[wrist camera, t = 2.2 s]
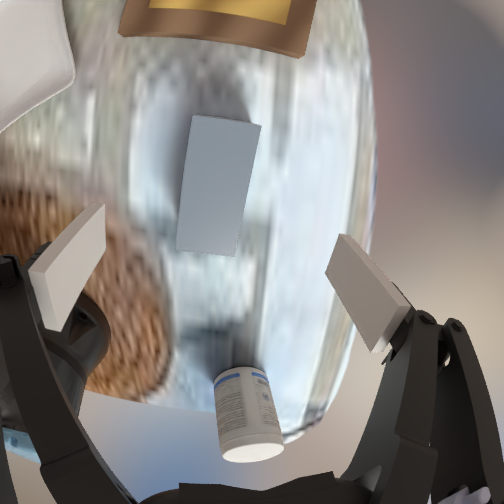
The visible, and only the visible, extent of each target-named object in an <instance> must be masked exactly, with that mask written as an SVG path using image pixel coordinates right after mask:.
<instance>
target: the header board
mask: <svg viewBox="0 0 504 504" xmlns="http://www.w3.org/2000/svg"><path fill="white" fill-rule="evenodd" d="M316 2H317V0H127V3H126V6H125V9H124V12H123V15H122V19H121V22H120V26H119V29H118V33H119V34H120V35H122V36H123V37H134V36H153V37H177V38H191V39H201V40H209V41H217V42H224V43H230V44H236V45H242V46H247V47H252V48H257V49H262V50H266V51H271V52H275V53H279V54H283V55H287V56H290V57H294V58H297V59H299V58H301V57H303V56H304V55H305V51H306V47H307V42H308V38H309V33H310V29H311V24H312V20H313V15H314V11H315V6H316Z"/></svg>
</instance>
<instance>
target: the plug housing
mask: <svg viewBox="0 0 504 504" xmlns="http://www.w3.org/2000/svg"><path fill="white" fill-rule="evenodd" d="M260 131H261V126H260V125H257V124H255V123H252V122H246V121H241V120H235V119H229V118H222V117H216V116H208V115H201V114H195V115H193V116H192V122H191V128H190V134H189V140H188V146H187V153H186V159H185V166H184V174H183V181H182V189H181V198H180V207H179V216H178V226H177V237H176V250H178V251H187V252H197V253H206V254H215V255H224V256H233V257H235V252H236V247H237V242H238V237H239V232H240V227H241V222H242V217H243V212H244V207H245V202H246V197H247V192H248V187H249V183H250V178H251V173H252V168H253V164H254V159H255V154H256V149H257V145H258V140H259V135H260Z"/></svg>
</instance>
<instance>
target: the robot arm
mask: <svg viewBox="0 0 504 504" xmlns="http://www.w3.org/2000/svg"><path fill="white" fill-rule="evenodd" d="M105 250H106V238H105V203H96V202H92V203H91V204H90V205H89V206H88V207H87V208H86V209H84V210H83V211H82V212H81V213H80V214H79V215H78V216H77V217H76V218H75V219H74V220H73V221H72V222H71V223H70V224H69V225H68V226H67V227H66V228H65V229H64V230H63V231H62V233H61V234H60V235H59V236H58V237H57V238H56V239H55V240H54V241H53V242H47V243H45V244H44V245H42V246H40V247H39V248H38V249H37V251H36V252H35V254H33V255H32V256H31V257H30V259H28V261H27V262H26V263H25V264H24V265H23V266H22V268H20V263H19V259H18V257H17V256H16V255H14V254H4V255H1V256H0V504H18V501H17V497H16V493H15V490H14V486H13V482H12V478H11V474H10V470H9V465H8V460H7V455H6V449H7V450H9V451H11V452H13V453H15V454H17V455H20V456H22V457H24V458H27V459H29V460H32V461H34V462H37V463H40V464H41V467H40V472H41V475H42V478H43V480H44V482H45V484H46V485H47V487H48V489H49V491H50V492H51V494H52V496H53V498H54V499H55V501H56V502H57V504H427V502H428V499H429V495H430V494H431V504H504V462H503V456H502V449H501V443H500V438H499V432H498V428H497V423H496V419H495V414H494V410H493V407H492V403H491V399H490V395H489V392H488V389H487V385H486V382H485V379H484V376H483V373H482V370H481V367H480V364H479V361H478V359H477V356H476V353H475V350H474V348H473V345H472V343H471V340H470V338H469V335H468V333H467V331H466V329H465V327H464V325H463V324H462V323H461V322H460V321H459V320H456V319H454V318H449V319H448V320H447V321H446V323H445V324H444V326H443V325H439V324H437V322H436V320H435V319H434V317H433V316H432V315H430V314H429V313H427V312H425V311H423V310H417V311H416V310H415V308H414V307H413V306H412V305H411V303H410V302H409V301H408V300H407V299H406V297H405V296H404V295H403V293H402V292H401V291H400V290H399V289H398V287H397V286H396V285H395V284H394V283H393V282H391V281H390V280H389V278H388V277H387V276H386V275H385V274H384V273H383V271H382V270H381V269H380V268H379V267H378V266H377V265H376V263H375V262H374V261H373V260H372V259H371V258H370V257H369V255H368V254H367V253H366V252H365V251H364V250H363V249H362V248H361V247H360V245H359V244H358V243H357V242H356V241H355V240H354V239H353V238H352V237H351V236H350V235H345V234H339V236H338V239H337V242H336V245H335V247H334V250H333V253H332V256H331V258H330V261H329V264H328V267H327V269H326V272H325V274H326V276H327V278H328V279H329V281H330V283H331V284H332V286H333V288H334V289H335V291H336V293H337V294H338V296H339V298H340V299H341V301H342V303H343V305H344V306H345V308H346V310H347V312H348V313H349V315H350V317H351V319H352V320H353V322H354V324H355V326H356V327H357V329H358V331H359V333H360V334H361V336H362V338H363V340H364V341H365V343H366V345H367V347H368V349H369V351H370V353H373V352H383V351H384V349H385V348H386V346H387V345H388V343H389V342H390V344H391V345H392V347H393V348H392V349H391V350H390V352H389V353H388V355H387V356H386V358H385V359H384V360H383V362H382V365H383V364H384V363H385V362H386V365H385V369H384V373H383V377H382V380H381V383H380V387H379V390H378V393H377V396H376V399H375V402H374V405H373V408H372V411H371V414H370V417H369V419H368V422H367V425H366V427H365V430H364V433H363V435H362V438H361V441H360V443H359V445H358V448H357V450H356V452H355V455H354V457H353V459H352V462H351V464H350V465H349V467H348V469H347V470H346V471H345V472H344V473H343V474H342V476H341V477H340V478H335V477H334V474H333V471H330V472H326V473H321V474H316V475H311V476H306V477H300V478H297V479H295V480H292V481H290V482H287V483H284V484H282V485H279V486H276V487H274V488H271V489H268V490H265V491H257V490H250V489H243V488H237V487H232V486H226V485H221V484H189V483H179V489H173V490H168V491H164V492H161V493H158V494H155V495H153V496H151V497H149V498H147V499H145V500H143V501H142V502H140V503H138V502H137V501H136V500H135V499H134V498H133V497H132V495H131V494H130V493H129V492H128V490H127V489H126V488H125V487H124V486H123V484H122V483H121V482H120V481H119V480H118V478H117V477H116V476H115V475H114V473H113V472H112V471H111V469H110V468H109V466H108V465H107V464H106V462H105V461H104V459H103V458H102V457H101V455H100V453H99V452H98V450H97V449H96V447H95V446H94V444H93V443H92V441H91V439H90V438H89V436H88V434H87V433H86V431H85V429H84V428H83V426H82V424H81V422H80V421H79V419H78V415H79V411H80V405H81V402H82V397H83V393H84V389H85V385H86V382H87V379H88V377H89V376H90V374H91V373H92V372H93V371H94V369H95V368H96V367H97V366H98V364H99V363H100V362H101V361H102V359H103V358H104V357H105V355H106V353H107V351H108V348H109V344H110V341H111V330H110V327H109V324H108V322H107V320H106V318H105V316H104V315H103V313H102V312H101V311H100V309H99V308H98V307H97V306H96V305H95V304H94V303H93V302H92V301H91V300H90V299H89V298H87V297H86V296H85V295H83V294H82V293H81V291H82V289H83V287H84V286H85V284H86V282H87V280H88V279H89V277H90V275H91V273H92V272H93V270H94V268H95V267H96V265H97V263H98V262H99V260H100V258H101V257H102V255H103V253H104V252H105ZM449 356H450V361H449V364H448V365H447V366H445V362H446V360H447V359H448V358H449ZM429 442H430V446H429Z"/></svg>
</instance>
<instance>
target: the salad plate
mask: <svg viewBox="0 0 504 504" xmlns="http://www.w3.org/2000/svg"><path fill="white" fill-rule="evenodd" d="M75 77H76V68H75V62H74V57H73V53H72V49H71V45H70V41H69V37H68V33H67V28H66V23H65V17H64V11H63V4H62V0H0V133H1V132H2V131H4V130H5V129H6V128H7V127H8V126H10V125H11V124H12V123H14V122H15V121H16V120H18V119H19V118H20V117H22V116H23V115H24V114H26V113H27V112H29V111H31V110H32V109H33V108H35V107H37V106H38V105H40V104H42V103H43V102H45V101H47V100H48V99H50V98H52V97H53V96H55V95H56V94H58V93H60V92H61V91H63V90H65V89H66V88H68V87H69V86H70V85H71V84H72V83H73V82H74V80H75Z"/></svg>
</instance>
